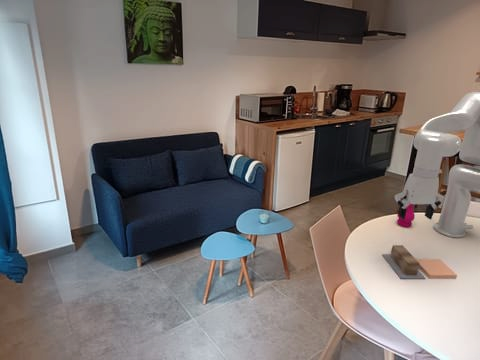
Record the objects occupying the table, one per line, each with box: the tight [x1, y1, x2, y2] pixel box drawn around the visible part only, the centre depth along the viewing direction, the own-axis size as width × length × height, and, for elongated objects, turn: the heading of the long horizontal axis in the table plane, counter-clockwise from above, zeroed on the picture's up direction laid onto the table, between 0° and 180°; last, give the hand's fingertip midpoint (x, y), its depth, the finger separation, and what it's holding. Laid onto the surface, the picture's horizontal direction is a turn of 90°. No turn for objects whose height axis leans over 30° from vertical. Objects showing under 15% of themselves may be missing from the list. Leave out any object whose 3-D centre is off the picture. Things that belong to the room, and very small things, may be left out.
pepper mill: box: [396, 203, 415, 228], centre depth 153 cm, size 7×7×20 cm
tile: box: [415, 258, 458, 280], centre depth 122 cm, size 2×10×10 cm
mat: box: [381, 253, 427, 280], centre depth 124 cm, size 9×15×1 cm, turn 2°
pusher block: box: [390, 244, 420, 275], centre depth 123 cm, size 12×4×5 cm, turn 2°
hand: (414, 217), depth 117 cm, fingers open, 9 cm apart
